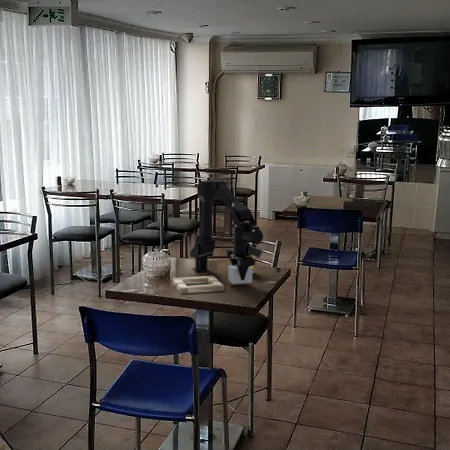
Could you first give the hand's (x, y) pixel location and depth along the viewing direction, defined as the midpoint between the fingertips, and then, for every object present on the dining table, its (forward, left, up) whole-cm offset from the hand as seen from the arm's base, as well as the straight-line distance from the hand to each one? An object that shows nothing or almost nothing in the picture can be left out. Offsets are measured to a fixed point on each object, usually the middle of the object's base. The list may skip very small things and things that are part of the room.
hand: (240, 278), depth 242 cm
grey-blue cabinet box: (0, 0, -1) cm, 1 cm away
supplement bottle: (-18, +9, -3) cm, 20 cm away
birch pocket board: (-2, -17, -3) cm, 17 cm away
